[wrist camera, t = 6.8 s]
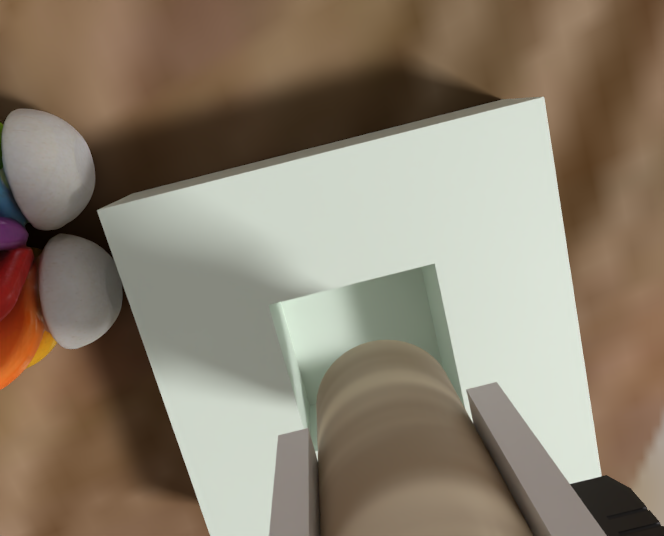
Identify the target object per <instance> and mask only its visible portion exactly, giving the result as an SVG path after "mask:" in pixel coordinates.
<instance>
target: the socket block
mask: <svg viewBox="0 0 664 536" xmlns="http://www.w3.org/2000/svg"><path fill="white" fill-rule="evenodd" d="M97 212H98V215H99V218H100V221H101V224H102V227H103V230H104V232H105V235H106V238H107V241H108V244H109V247H110V250H111V252H112V255H113V258H114V261H115V264H116V267H117V270H118V273H119V275H120V278H121V281H122V284H123V287H124V290H125V293H126V295H127V298H128V301H129V304H130V307H131V310H132V313H133V316H134V318H135V321H136V324H137V327H138V330H139V333H140V336H141V338H142V341H143V344H144V347H145V350H146V353H147V356H148V359H149V361H150V364H151V367H152V370H153V373H154V376H155V379H156V381H157V384H158V387H159V390H160V393H161V396H162V399H163V401H164V404H165V407H166V410H167V413H168V416H169V419H170V422H171V424H172V427H173V430H174V433H175V436H176V439H177V442H178V444H179V447H180V450H181V453H182V456H183V459H184V462H185V465H186V467H187V470H188V473H189V476H190V479H191V482H192V485H193V487H194V490H195V493H196V496H197V499H198V502H199V505H200V508H201V510H202V513H203V516H204V519H205V522H206V525H207V528H208V530H209V533H210V536H269V530H270V519H271V508H272V497H273V486H274V475H275V464H276V453H277V442H278V435H281V434H286V433H290V432H294V431H298V430H302V429H306V428H309V432H310V435H311V439H312V443H313V446H314V450H315V453H316V457H317V460H318V445H317V413H316V401H317V393H318V389H319V386H320V383H321V381H322V379H323V377H324V375H325V373H326V372H327V370H328V369H329V367H330V366H331V365H332V364H333V363H334V362H335V361H336V360H337V359H338V358H339V357H340V356H341V355H343V354H344V353H345V352H347V351H349V350H350V349H352V348H354V347H356V346H358V345H361V344H364V343H367V342H371V341H376V340H398V341H403V342H407V343H410V344H413V345H415V346H417V347H419V348H422V349H423V350H425V351H426V352H428V353H429V354H430V355H431V356H433V357H434V358H435V359H436V360H437V361H438V363H439V364H440V365H441V366H442V368H443V369H444V371H445V372H446V374H447V376H448V378H449V380H450V382H451V384H452V385H453V387H454V389H455V391H456V393H457V395H458V396H459V398H460V400H461V402H462V404H463V406H464V408H465V409H466V411H467V413H468V415H469V417H470V419H471V420H472V422H473V419H472V415H471V410H470V405H469V400H468V396H467V391H466V389H470V388H474V387H478V386H482V385H486V384H490V383H494V382H497V383H498V384H499V386H500V387H501V388H502V390H503V391H504V393H505V394H506V395H507V397H508V398H509V400H510V401H511V402H512V404H513V405H514V407H515V408H516V409H517V411H518V412H519V414H520V415H521V416H522V418H523V419H524V421H525V422H526V423H527V425H528V426H529V428H530V429H531V430H532V432H533V433H534V435H535V436H536V437H537V439H538V440H539V442H540V443H541V444H542V446H543V447H544V449H545V450H546V451H547V453H548V454H549V456H550V457H551V458H552V460H553V461H554V463H555V464H556V465H557V467H558V468H559V470H560V471H561V472H562V474H563V475H564V477H565V478H566V479H567V481H568V482H569V484H572V483H576V482H580V481H585V480H589V479H593V478H597V477H601V469H600V463H599V456H598V449H597V443H596V436H595V430H594V423H593V416H592V410H591V403H590V397H589V390H588V383H587V377H586V370H585V364H584V357H583V350H582V344H581V337H580V331H579V324H578V318H577V311H576V304H575V298H574V291H573V285H572V278H571V271H570V265H569V258H568V252H567V245H566V238H565V232H564V225H563V219H562V212H561V205H560V199H559V192H558V186H557V179H556V172H555V166H554V159H553V153H552V146H551V140H550V133H549V126H548V120H547V113H546V107H545V100H544V97H532V98H517V99H502V100H498V101H494V102H490V103H486V104H482V105H479V106H475V107H471V108H467V109H463V110H459V111H455V112H451V113H447V114H443V115H439V116H435V117H431V118H427V119H423V120H420V121H416V122H412V123H408V124H404V125H400V126H396V127H392V128H388V129H384V130H380V131H376V132H372V133H368V134H364V135H360V136H357V137H353V138H349V139H345V140H341V141H337V142H333V143H329V144H325V145H321V146H317V147H313V148H309V149H305V150H301V151H298V152H294V153H290V154H286V155H282V156H278V157H274V158H270V159H266V160H262V161H258V162H254V163H250V164H246V165H242V166H239V167H235V168H231V169H227V170H223V171H219V172H215V173H211V174H207V175H203V176H199V177H195V178H191V179H187V180H183V181H180V182H176V183H172V184H168V185H164V186H160V187H156V188H152V189H148V190H144V191H140V192H136V193H132V194H130V195H128V196H126V197H124V198H122V199H120V200H118V201H115V202H113V203H111V204H109V205H107V206H105V207H103V208H101V209H99V210H97Z"/></svg>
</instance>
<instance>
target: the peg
mask: <svg viewBox="0 0 664 536" xmlns="http://www.w3.org/2000/svg"><path fill="white" fill-rule="evenodd" d="M316 413H317V445H318V477H319V510H320V536H534V535H533V533H532V531H531V529H530V527H529V526H528V524H527V522H526V520H525V518H524V516H523V515H522V513H521V511H520V509H519V507H518V505H517V503H516V502H515V500H514V498H513V496H512V494H511V492H510V491H509V489H508V487H507V485H506V483H505V481H504V480H503V478H502V476H501V474H500V472H499V470H498V468H497V467H496V465H495V463H494V461H493V459H492V457H491V456H490V454H489V452H488V450H487V448H486V446H485V444H484V443H483V441H482V439H481V437H480V435H479V433H478V432H477V430H476V428H475V426H474V424H473V422H472V420H471V419H470V417H469V415H468V413H467V411H466V409H465V408H464V406H463V404H462V402H461V400H460V398H459V396H458V395H457V393H456V391H455V389H454V387H453V385H452V384H451V382H450V380H449V378H448V376H447V374H446V372H445V371H444V369H443V368H442V366H441V365H440V364H439V363H438V361H437V360H436V359H435V358H434V357H433V356H431V355H430V354H429V353H428V352H426V351H425V350H423V349H422V348H419V347H417V346H415V345H413V344H410V343H407V342H403V341H398V340H376V341H371V342H367V343H364V344H361V345H358V346H356V347H354V348H352V349H350V350H349V351H347V352H345V353H344V354H343V355H341V356H340V357H339V358H338V359H337V360H336V361H335V362H334V363H333V364H332V365H331V366H330V367H329V369H328V370H327V372H326V373H325V375H324V377H323V379H322V381H321V383H320V386H319V389H318V393H317V401H316Z"/></svg>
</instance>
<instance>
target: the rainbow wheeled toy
mask: <svg viewBox="0 0 664 536" xmlns="http://www.w3.org/2000/svg"><path fill="white" fill-rule="evenodd" d="M94 187H95V167H94V163H93V159H92V155H91V152H90V150H89V147H88V145H87V143H86V142H85V140H84V138H83V137H82V136H81V135H80V133H79V132H78V131H77V130H76V129H74V128H73V127H72V126H71V125H70V124H68V123H67V122H66V121H64V120H62V119H61V118H59V117H57V116H55V115H53V114H50V113H47V112H44V111H40V110H34V109H16V110H14V111H12V112H11V113H10V114H9V115H8V116H7V118H6V120H5V122H4V125H3V124H2V123H1V122H0V390H1V389H2V388H4V387H6V386H7V385H8V384H10V383H11V382H12V381H13V380H15V379H16V378H17V377H18V376H19V375H20V374H21V373H22V372H23V371H24V370H25V369H26V368H28V367H30V366H32V365H34V364H36V363H37V362H39V361H40V360H42V359H43V358H44V357H45V356H46V355H47V354H48V353H49V352H50V351H51V350H52V349H53V348H54V346H55V345H56V344H57V343H58V344H59V345H61V346H62V347H64V348H67V349H77V348H80V347H82V346H85V345H87V344H90V343H92V342H94V341H95V340H97V339H98V338H100V337H101V336H102V335H103V334H105V333H106V332H107V331H108V330H109V328H110V327H111V326H112V325H113V323H114V322H115V321H116V319H117V317H118V315H119V313H120V310H121V307H122V299H123V291H122V281H121V278H120V275H119V273H118V270H117V267H116V264H115V261H114V260H113V259H112V257H111V256H110V255H109V254H108V253H107V252H106V251H105V250H104V249H103V248H101V247H100V246H99V245H97V244H95V243H94V242H92V241H90V240H87V239H85V238H82V237H78V236H74V235H69V234H61V233H59V234H57V235H56V236H54V237H52V238H51V239H50V240H49V241H48V243H47V244H46V246H45V247H44V249H43V250H40V249H38V248H35V247H27V246H26V242H27V239H28V236H29V234H28V232H27V230H26V227H25V225H26V223H31V225H32V226H33V227H34V228H36V229H39V230H55V229H59V228H61V227H63V226H64V225H65V224H67V223H69V222H71V221H72V220H73V219H75V218H76V217H77V216H78V215H79V214H80V213H81V212H82V211H83V210H84V209H85V207H86V206H87V204H88V203H89V201H90V199H91V196H92V194H93V191H94Z"/></svg>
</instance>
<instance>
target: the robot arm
mask: <svg viewBox="0 0 664 536" xmlns="http://www.w3.org/2000/svg"><path fill="white" fill-rule="evenodd" d="M466 391H467V396H468V400H469V405H470V410H471V415H472V419H473V424H474V426H475V428H476V430H477V432H478V433H479V435H480V437H481V439H482V441H483V443H484V444H485V446H486V448H487V450H488V452H489V454H490V456H491V457H492V459H493V461H494V463H495V465H496V467H497V468H498V470H499V472H500V474H501V476H502V478H503V480H504V481H505V483H506V485H507V487H508V489H509V491H510V492H511V494H512V496H513V498H514V500H515V502H516V503H517V505H518V507H519V509H520V511H521V513H522V515H523V516H524V518H525V520H526V522H527V524H528V526H529V527H530V529H531V531H532V533H533V535H534V536H664V526H661V525H660V522H659V521H658V520H657V519H656V517H655V516H654V515H653V514H652V513H651V512H650V510H649V511H648V510H647V507H646V506H645V505H644V503H643V502H642V501H641V500H640V499H639V498H638V497H637V495H636V494H635V493H634V492H633V491H632V490H631V488H629V487H627V486H625V485H623V484H621V483H620V482H618V481H616V480H614V479H612V478H610V477H609V476H607V475H605V476H601V477H597V478H593V479H589V480H585V481H580V482H576V483H572V484H569V482H568V481H567V479H566V478H565V477H564V475H563V474H562V472H561V471H560V470H559V468H558V467H557V465H556V464H555V463H554V461H553V460H552V458H551V457H550V456H549V454H548V453H547V451H546V450H545V449H544V447H543V446H542V444H541V443H540V442H539V440H538V439H537V437H536V436H535V435H534V433H533V432H532V430H531V429H530V428H529V426H528V425H527V423H526V422H525V421H524V419H523V418H522V416H521V415H520V414H519V412H518V411H517V409H516V408H515V407H514V405H513V404H512V402H511V401H510V400H509V398H508V397H507V395H506V394H505V393H504V391H503V390H502V388H501V387H500V386H499V384H498V383H497V382H494V383H490V384H486V385H482V386H478V387H474V388H470V389H466ZM269 536H320V510H319V477H318V460H317V457H316V453H315V450H314V446H313V443H312V439H311V435H310V432H309V428H306V429H302V430H298V431H294V432H290V433H286V434H281V435H278V442H277V453H276V464H275V475H274V486H273V497H272V508H271V519H270V530H269Z"/></svg>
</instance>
